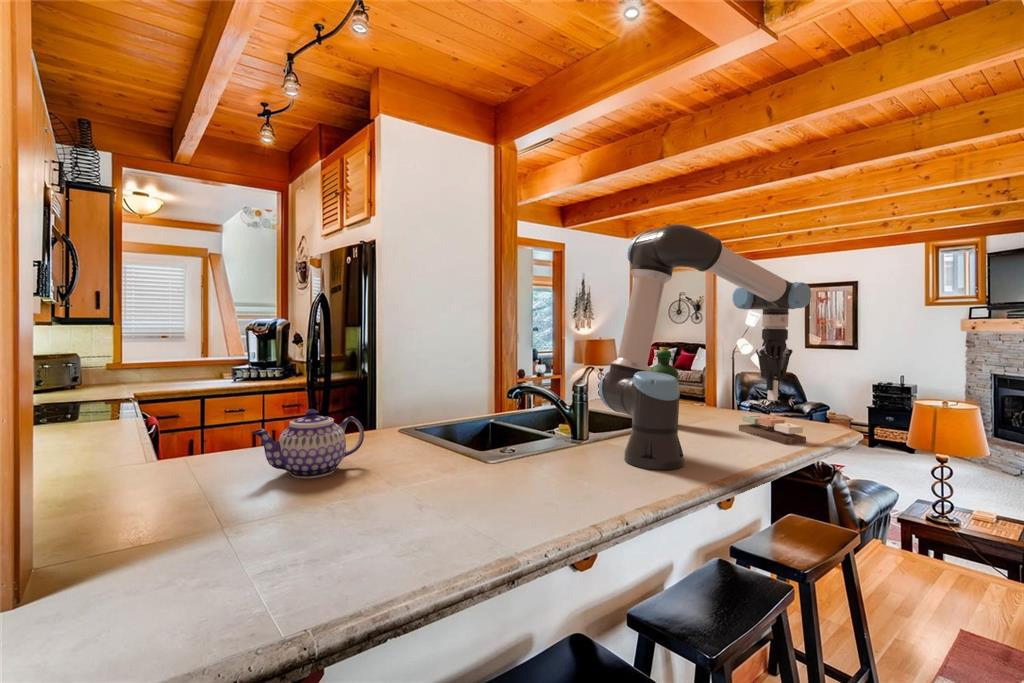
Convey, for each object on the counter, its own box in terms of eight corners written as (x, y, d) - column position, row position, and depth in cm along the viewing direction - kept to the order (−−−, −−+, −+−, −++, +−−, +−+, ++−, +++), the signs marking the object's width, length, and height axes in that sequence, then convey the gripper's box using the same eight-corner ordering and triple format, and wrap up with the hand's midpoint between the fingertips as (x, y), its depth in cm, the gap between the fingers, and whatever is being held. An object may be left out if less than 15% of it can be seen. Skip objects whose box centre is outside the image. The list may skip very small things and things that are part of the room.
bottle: (673, 422, 186) (675, 346, 184) (680, 428, 175) (682, 348, 174) (644, 421, 187) (646, 346, 185) (649, 427, 176) (651, 347, 175)
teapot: (354, 456, 132) (355, 400, 132) (374, 471, 120) (375, 409, 119) (248, 471, 118) (248, 408, 117) (258, 490, 105) (258, 420, 105)
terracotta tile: (770, 433, 161) (771, 420, 161) (757, 429, 166) (758, 416, 166) (784, 432, 163) (784, 419, 162) (771, 428, 168) (771, 416, 168)
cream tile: (788, 440, 154) (788, 427, 154) (774, 436, 160) (774, 423, 159) (802, 439, 156) (802, 426, 156) (787, 435, 161) (788, 422, 161)
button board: (785, 444, 154) (785, 438, 154) (738, 430, 173) (738, 424, 173) (805, 443, 156) (806, 436, 156) (757, 429, 175) (757, 423, 175)
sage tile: (754, 430, 168) (754, 418, 168) (742, 427, 173) (742, 415, 173) (767, 430, 169) (768, 417, 169) (755, 426, 175) (755, 414, 174)
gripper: (767, 328, 158) (765, 402, 159) (800, 328, 161) (797, 401, 162) (750, 327, 165) (747, 398, 166) (781, 328, 168) (779, 397, 170)
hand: (772, 399), depth 164 cm, fingers closed
